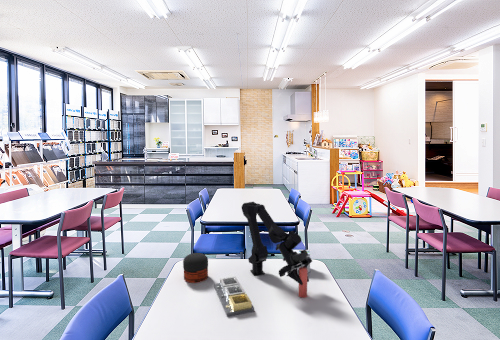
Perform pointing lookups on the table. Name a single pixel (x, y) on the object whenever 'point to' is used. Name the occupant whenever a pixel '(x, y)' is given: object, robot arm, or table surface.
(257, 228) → the robot arm
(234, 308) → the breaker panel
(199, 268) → the oil filter
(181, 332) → the table surface
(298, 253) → the light bulb box
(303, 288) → the plug
